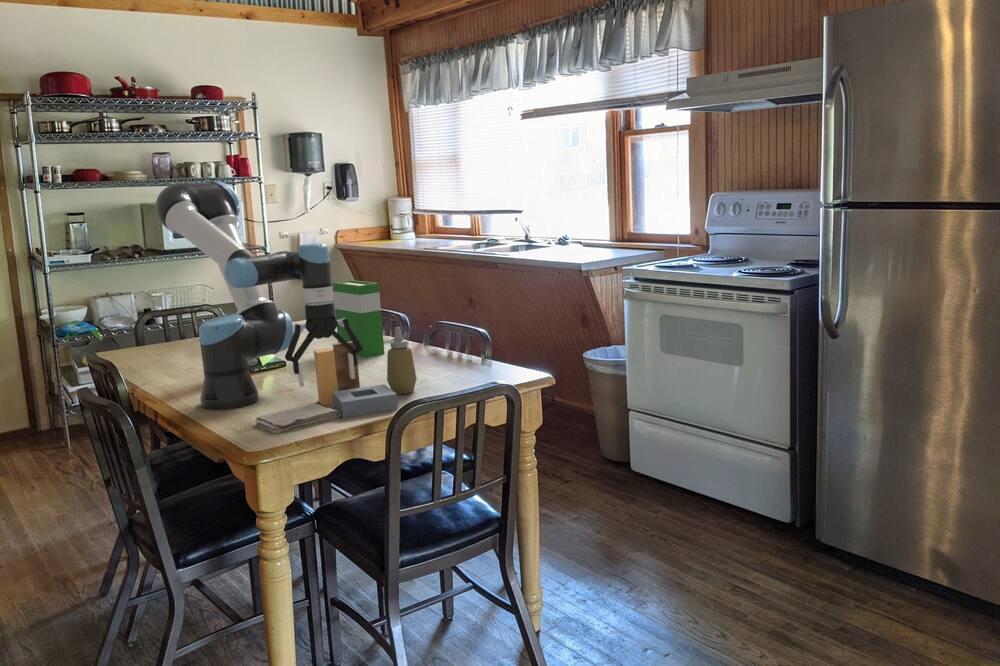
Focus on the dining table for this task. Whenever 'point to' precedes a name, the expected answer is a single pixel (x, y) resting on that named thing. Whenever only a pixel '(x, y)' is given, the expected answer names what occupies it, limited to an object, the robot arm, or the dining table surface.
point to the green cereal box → (360, 314)
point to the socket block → (364, 400)
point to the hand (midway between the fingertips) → (327, 381)
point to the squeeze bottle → (400, 365)
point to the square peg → (325, 374)
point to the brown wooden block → (344, 368)
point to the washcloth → (296, 418)
